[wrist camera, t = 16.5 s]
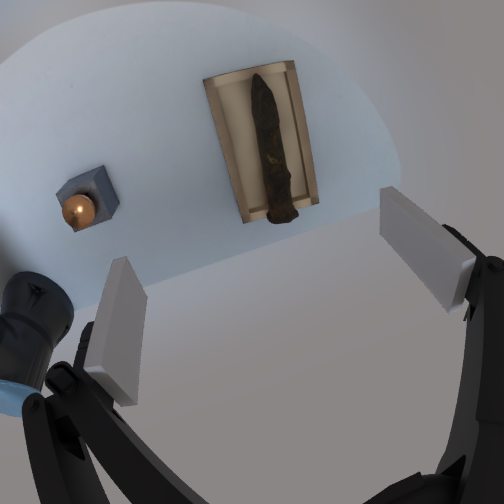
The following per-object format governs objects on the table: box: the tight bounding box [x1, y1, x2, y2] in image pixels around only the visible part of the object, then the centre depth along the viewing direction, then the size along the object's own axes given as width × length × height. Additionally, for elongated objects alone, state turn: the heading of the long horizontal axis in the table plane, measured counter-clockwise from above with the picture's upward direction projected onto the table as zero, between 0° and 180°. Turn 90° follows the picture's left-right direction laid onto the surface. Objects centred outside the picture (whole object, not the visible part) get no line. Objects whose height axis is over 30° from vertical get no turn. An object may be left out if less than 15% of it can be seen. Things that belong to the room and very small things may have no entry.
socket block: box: [56, 165, 119, 232], centre depth 38 cm, size 6×6×5 cm
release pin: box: [62, 192, 96, 229], centre depth 37 cm, size 4×4×7 cm
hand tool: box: [251, 73, 299, 224], centre depth 36 cm, size 19×4×5 cm, turn 9°
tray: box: [203, 60, 319, 224], centre depth 39 cm, size 11×20×3 cm, turn 13°
